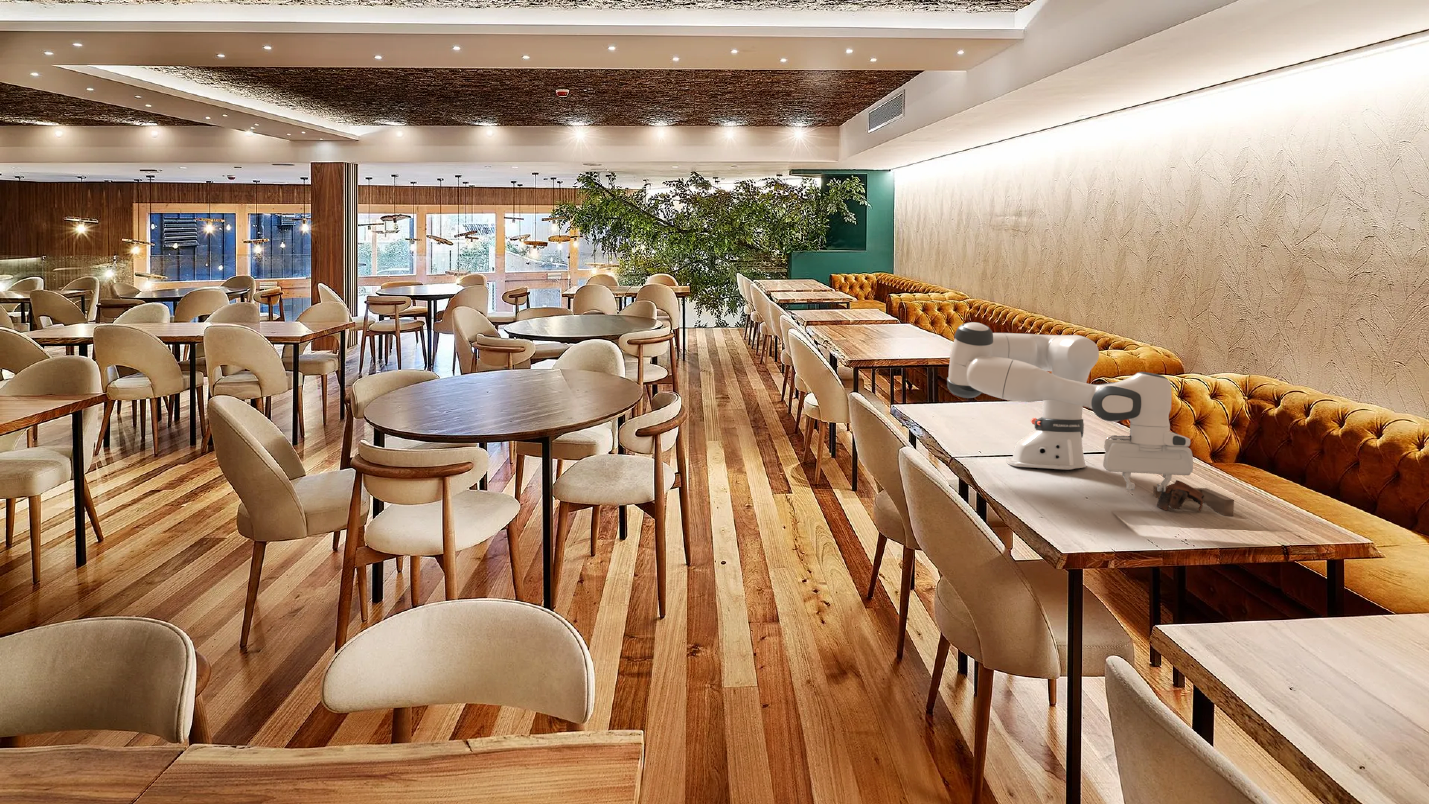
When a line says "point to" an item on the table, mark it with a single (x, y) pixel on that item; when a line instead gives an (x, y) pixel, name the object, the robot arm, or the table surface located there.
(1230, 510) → the dock
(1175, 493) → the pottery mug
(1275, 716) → the table surface
